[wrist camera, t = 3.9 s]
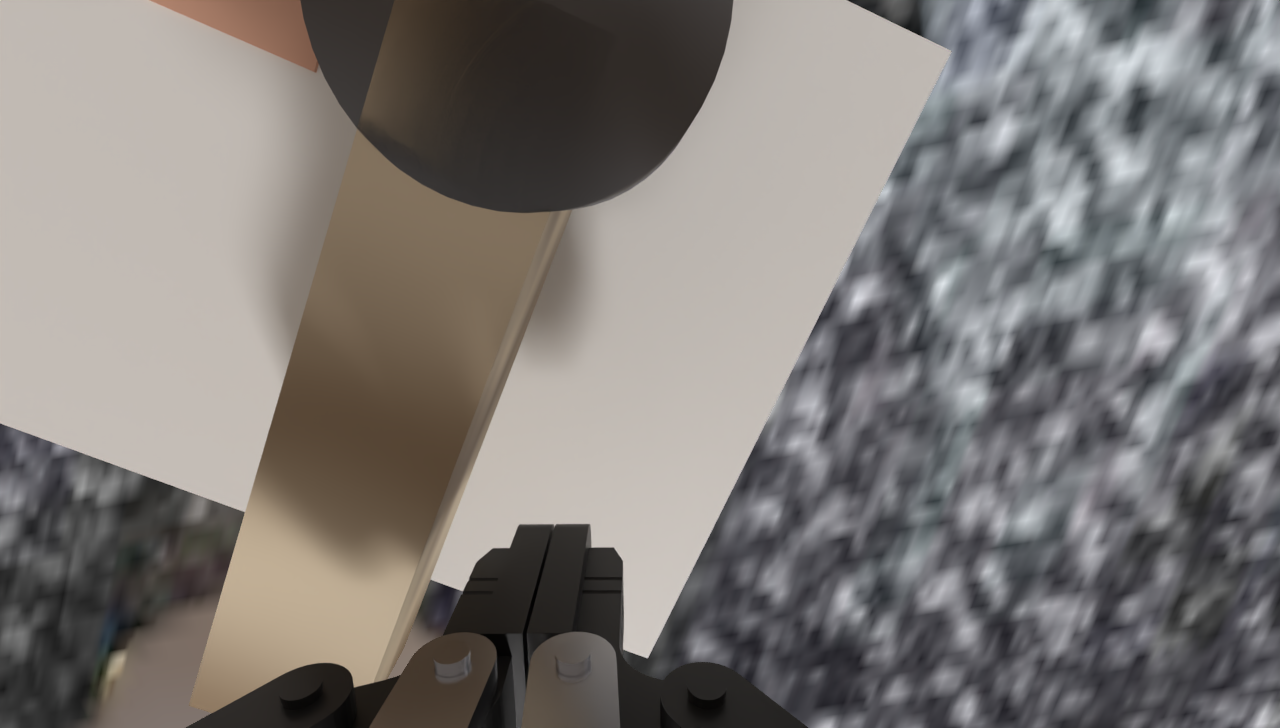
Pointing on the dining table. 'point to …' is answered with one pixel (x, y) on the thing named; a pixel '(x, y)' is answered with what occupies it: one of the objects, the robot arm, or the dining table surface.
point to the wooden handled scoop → (432, 293)
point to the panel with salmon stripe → (296, 229)
